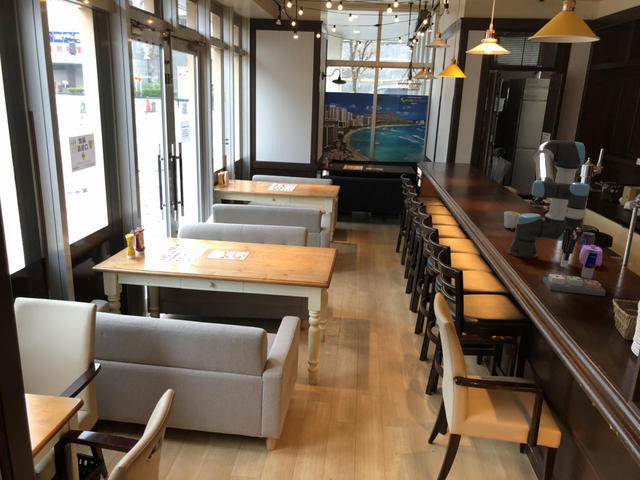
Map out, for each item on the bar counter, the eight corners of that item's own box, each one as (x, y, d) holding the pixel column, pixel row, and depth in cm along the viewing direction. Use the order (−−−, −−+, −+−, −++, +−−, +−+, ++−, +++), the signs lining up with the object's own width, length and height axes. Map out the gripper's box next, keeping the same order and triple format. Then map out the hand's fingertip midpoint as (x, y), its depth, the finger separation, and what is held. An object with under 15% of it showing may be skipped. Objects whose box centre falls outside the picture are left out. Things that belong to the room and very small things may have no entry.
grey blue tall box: (588, 282, 252) (594, 252, 248) (578, 278, 256) (584, 250, 252) (593, 280, 255) (600, 251, 251) (583, 277, 259) (589, 248, 254)
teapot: (576, 256, 294) (579, 239, 291) (596, 259, 291) (600, 242, 288) (581, 266, 277) (585, 247, 274) (603, 269, 274) (607, 250, 272)
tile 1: (547, 279, 245) (549, 273, 244) (560, 281, 244) (561, 274, 243) (551, 283, 240) (552, 277, 239) (563, 285, 239) (565, 278, 238)
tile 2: (565, 281, 244) (566, 275, 243) (578, 283, 243) (579, 276, 242) (569, 285, 239) (570, 279, 238) (581, 287, 238) (583, 280, 237)
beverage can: (576, 250, 307) (580, 231, 303) (589, 252, 305) (593, 232, 302) (579, 254, 300) (584, 234, 297) (593, 255, 299) (597, 235, 295)
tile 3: (582, 285, 243) (584, 279, 242) (595, 286, 242) (596, 280, 241) (587, 289, 238) (588, 283, 237) (599, 291, 237) (601, 284, 236)
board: (542, 281, 249) (543, 276, 248) (595, 286, 246) (596, 282, 245) (549, 290, 237) (550, 285, 237) (604, 296, 234) (605, 291, 233)
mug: (502, 228, 349) (505, 213, 346) (501, 225, 358) (503, 210, 355) (523, 231, 346) (526, 216, 343) (521, 227, 356) (524, 212, 353)
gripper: (560, 213, 240) (551, 261, 246) (570, 219, 227) (559, 270, 234) (577, 214, 239) (567, 262, 245) (587, 221, 226) (577, 271, 233)
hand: (563, 266), depth 239 cm, fingers closed
